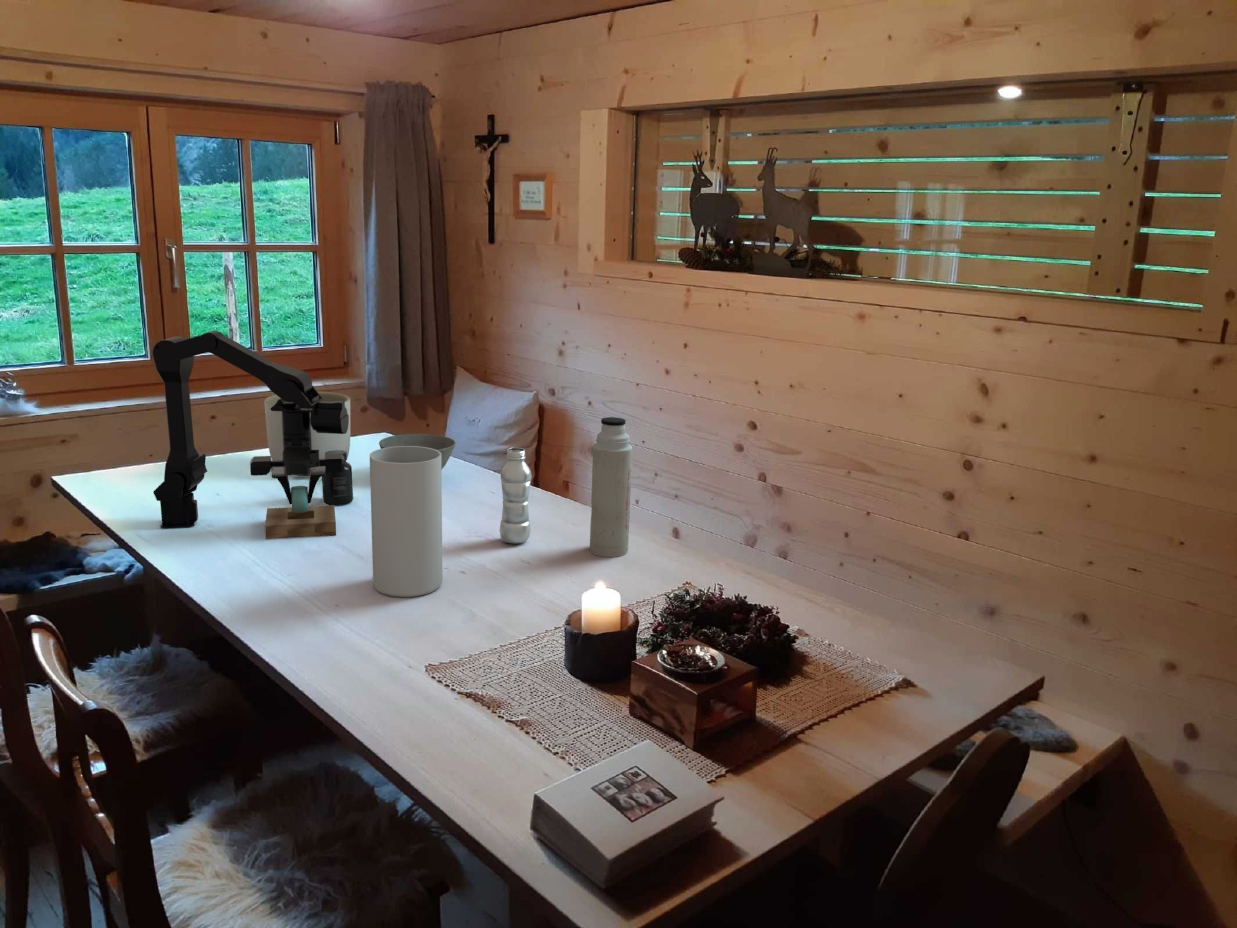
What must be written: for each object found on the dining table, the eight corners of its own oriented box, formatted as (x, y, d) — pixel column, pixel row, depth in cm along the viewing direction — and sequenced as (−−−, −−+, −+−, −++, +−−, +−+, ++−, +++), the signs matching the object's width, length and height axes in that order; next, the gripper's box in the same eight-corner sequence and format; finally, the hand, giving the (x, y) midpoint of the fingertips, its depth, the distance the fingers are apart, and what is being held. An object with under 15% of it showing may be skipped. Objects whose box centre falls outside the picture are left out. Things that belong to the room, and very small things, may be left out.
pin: (291, 513, 205) (290, 490, 204) (292, 508, 208) (290, 486, 207) (308, 512, 206) (307, 489, 205) (308, 507, 209) (307, 485, 208)
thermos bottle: (631, 546, 205) (637, 416, 198) (623, 558, 197) (629, 424, 190) (594, 542, 206) (598, 413, 199) (585, 554, 199) (589, 421, 192)
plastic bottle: (493, 543, 203) (493, 450, 198) (511, 534, 209) (512, 444, 204) (518, 549, 201) (520, 455, 196) (536, 540, 206) (538, 448, 201)
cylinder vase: (374, 600, 172) (370, 464, 166) (372, 575, 184) (368, 447, 177) (445, 596, 175) (444, 462, 169) (439, 571, 187) (438, 445, 181)
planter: (255, 479, 242) (250, 404, 237) (285, 459, 262) (282, 389, 257) (337, 483, 242) (335, 408, 237) (362, 462, 262) (360, 393, 257)
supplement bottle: (357, 498, 230) (355, 449, 227) (346, 507, 223) (345, 456, 220) (329, 497, 231) (327, 447, 227) (318, 505, 224) (315, 455, 221)
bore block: (265, 539, 200) (264, 525, 200) (267, 521, 211) (267, 508, 211) (336, 535, 204) (335, 521, 204) (334, 517, 216) (334, 505, 215)
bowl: (365, 485, 241) (364, 445, 239) (403, 467, 259) (402, 430, 256) (433, 493, 236) (433, 454, 234) (467, 474, 254) (467, 437, 251)
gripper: (246, 442, 192) (251, 517, 196) (344, 439, 198) (346, 512, 202) (249, 429, 203) (254, 501, 207) (342, 427, 208) (345, 497, 212)
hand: (300, 503), depth 207 cm, fingers closed on pin, 3 cm apart
